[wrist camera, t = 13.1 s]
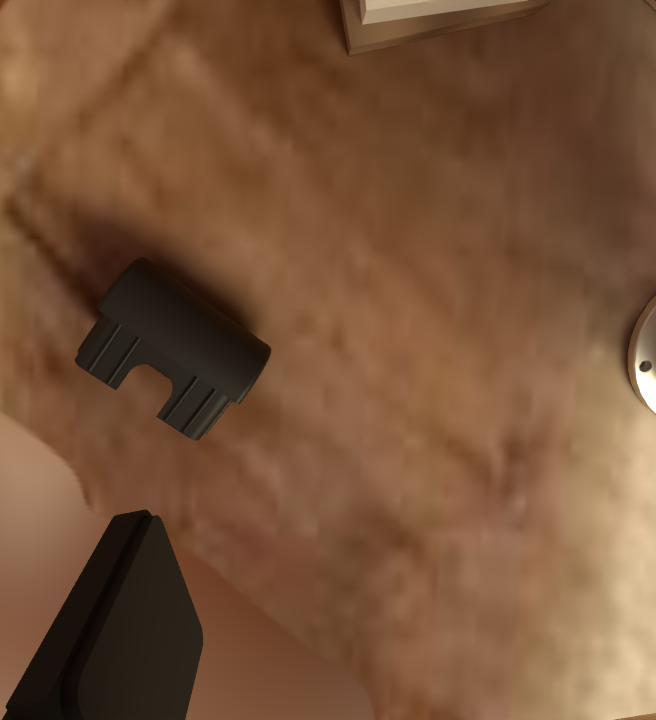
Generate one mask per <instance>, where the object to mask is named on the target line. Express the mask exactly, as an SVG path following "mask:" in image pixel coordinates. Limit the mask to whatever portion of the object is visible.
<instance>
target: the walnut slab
mask: <svg viewBox="0 0 656 720" xmlns="http://www.w3.org/2000/svg"><path fill="white" fill-rule="evenodd" d="M339 3H340V9H341V14H342V20H343V26H344V32H345V38H346V43H347V49H348V55H349V56H351V55H356V54H360V53H365V52H369V51H374V50H378V49H382V48H387V47H391V46H396V45H400V44H404V43H409V42H413V41H418V40H422V39H427V38H431V37H435V36H440V35H444V34H449V33H453V32H457V31H462V30H466V29H471V28H475V27H480V26H484V25H488V24H493V23H497V22H502V21H506V20H511V19H515V18H519V17H524V16H528V15H532V14H534V13H535V12H537V11H539V10H540V9H542V8H543V7H545V6H546V5H548V4H549V3H550V0H527V1H521V2H515V3H508V4H501V5H494V6H487V7H480V8H473V9H466V10H460V11H453V12H446V13H439V14H432V15H425V16H418V17H412V18H405V19H398V20H391V21H384V22H377V23H370V24H363V25H362V19H361V9H360V0H339Z"/></svg>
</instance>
